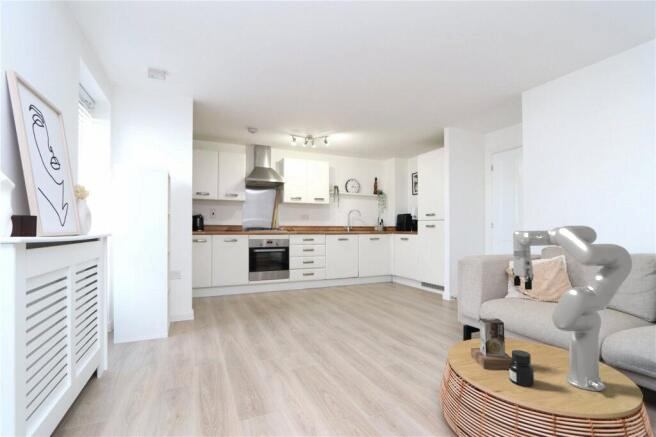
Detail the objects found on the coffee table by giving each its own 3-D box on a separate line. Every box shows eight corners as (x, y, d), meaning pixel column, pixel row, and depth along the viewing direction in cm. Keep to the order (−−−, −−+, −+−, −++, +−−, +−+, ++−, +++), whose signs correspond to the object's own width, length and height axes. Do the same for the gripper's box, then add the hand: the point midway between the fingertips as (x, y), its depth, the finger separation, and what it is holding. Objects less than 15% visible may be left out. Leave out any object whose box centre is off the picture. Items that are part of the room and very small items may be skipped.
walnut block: (515, 368, 144) (515, 360, 144) (484, 368, 144) (484, 359, 145) (499, 356, 158) (499, 348, 158) (471, 356, 158) (471, 348, 159)
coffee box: (499, 351, 154) (498, 318, 154) (505, 356, 148) (504, 322, 148) (479, 351, 155) (479, 318, 155) (485, 356, 148) (484, 321, 149)
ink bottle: (510, 374, 139) (510, 347, 139) (534, 380, 134) (533, 351, 134) (508, 383, 131) (507, 354, 131) (533, 390, 126) (533, 359, 126)
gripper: (540, 256, 155) (540, 291, 155) (519, 253, 172) (520, 284, 172) (524, 256, 155) (525, 291, 155) (505, 253, 172) (506, 284, 172)
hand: (522, 287), depth 163 cm, fingers open, 9 cm apart
